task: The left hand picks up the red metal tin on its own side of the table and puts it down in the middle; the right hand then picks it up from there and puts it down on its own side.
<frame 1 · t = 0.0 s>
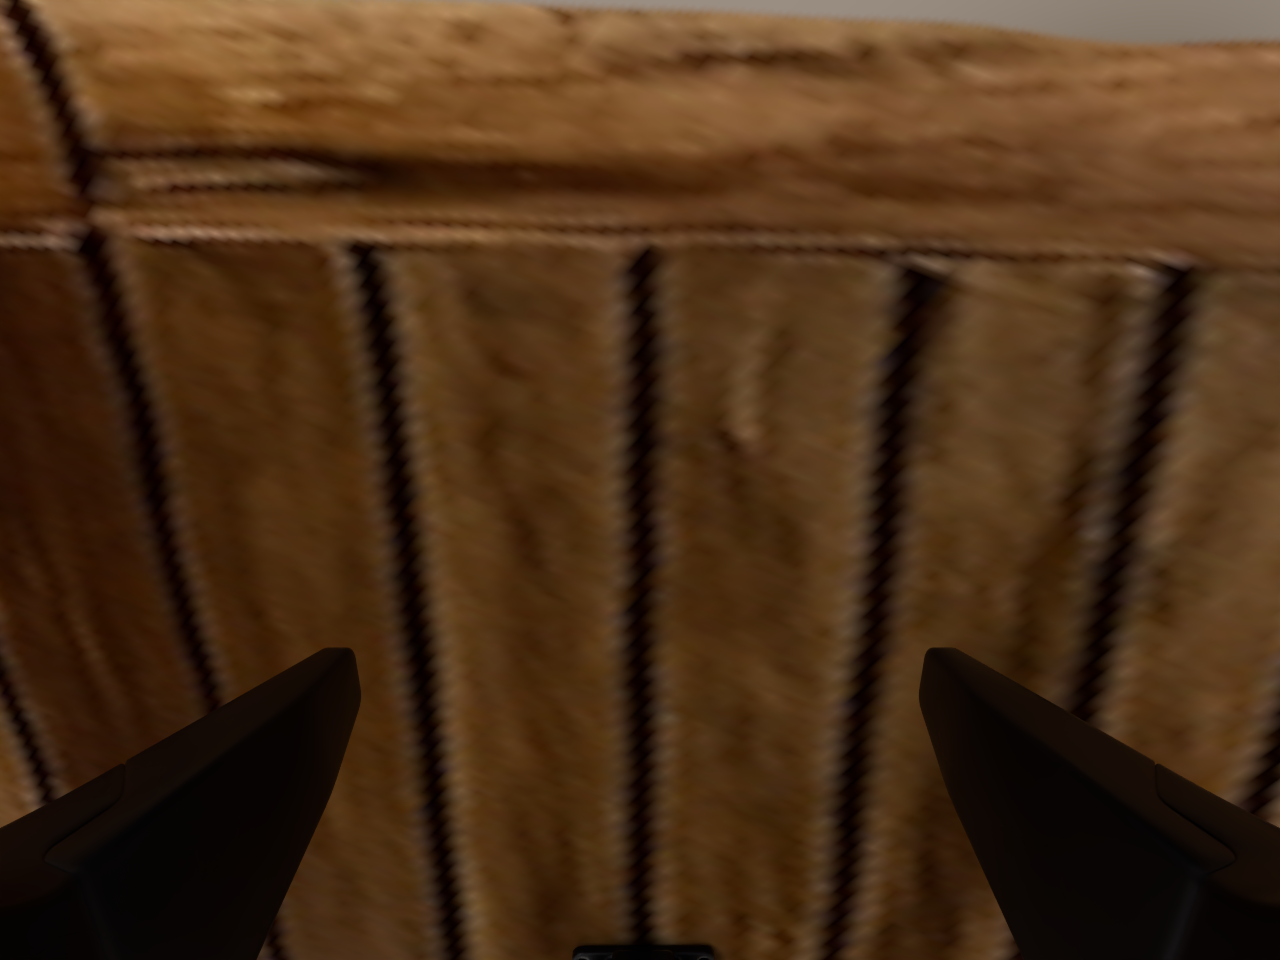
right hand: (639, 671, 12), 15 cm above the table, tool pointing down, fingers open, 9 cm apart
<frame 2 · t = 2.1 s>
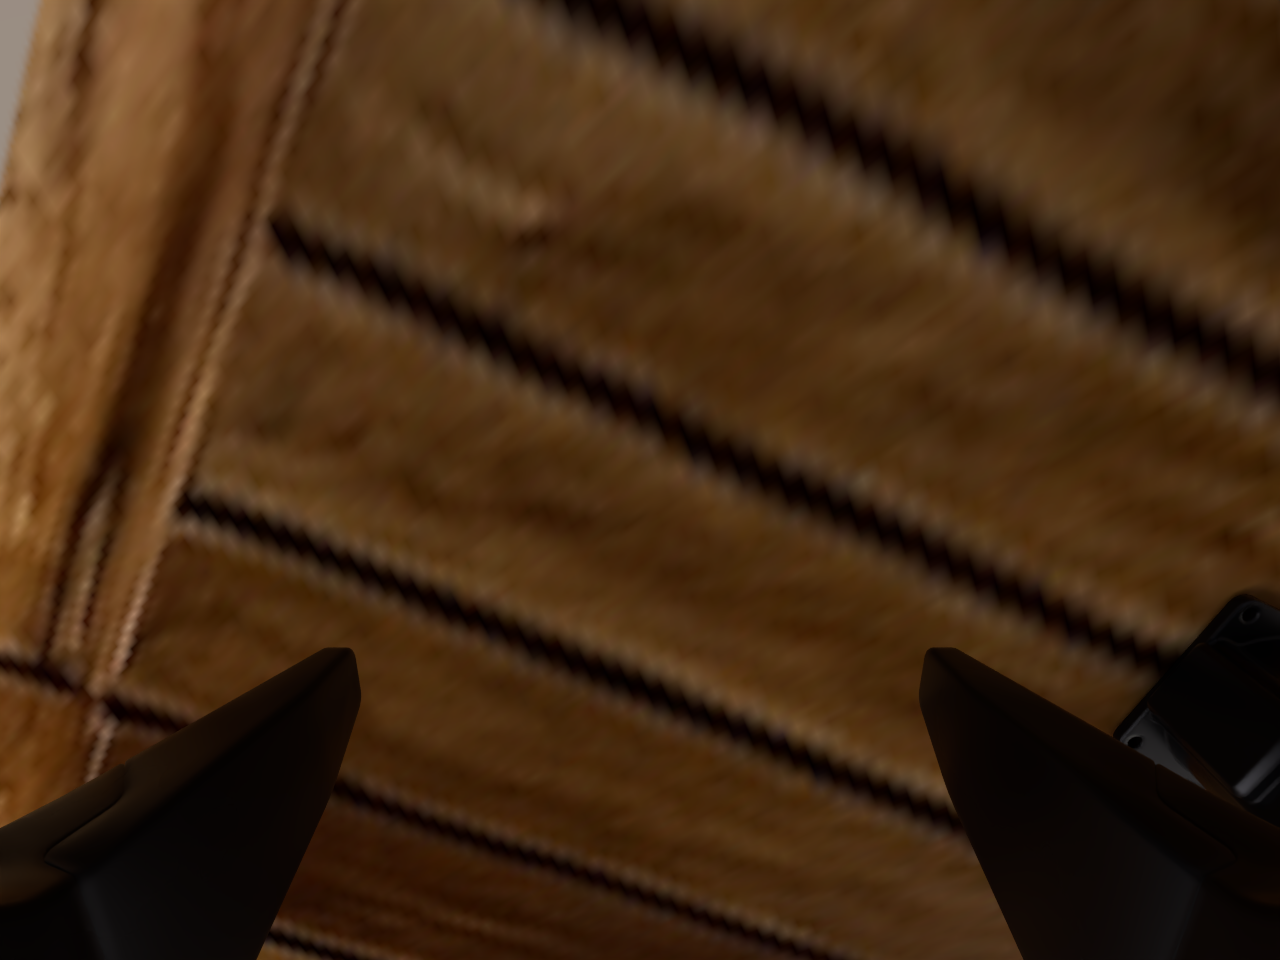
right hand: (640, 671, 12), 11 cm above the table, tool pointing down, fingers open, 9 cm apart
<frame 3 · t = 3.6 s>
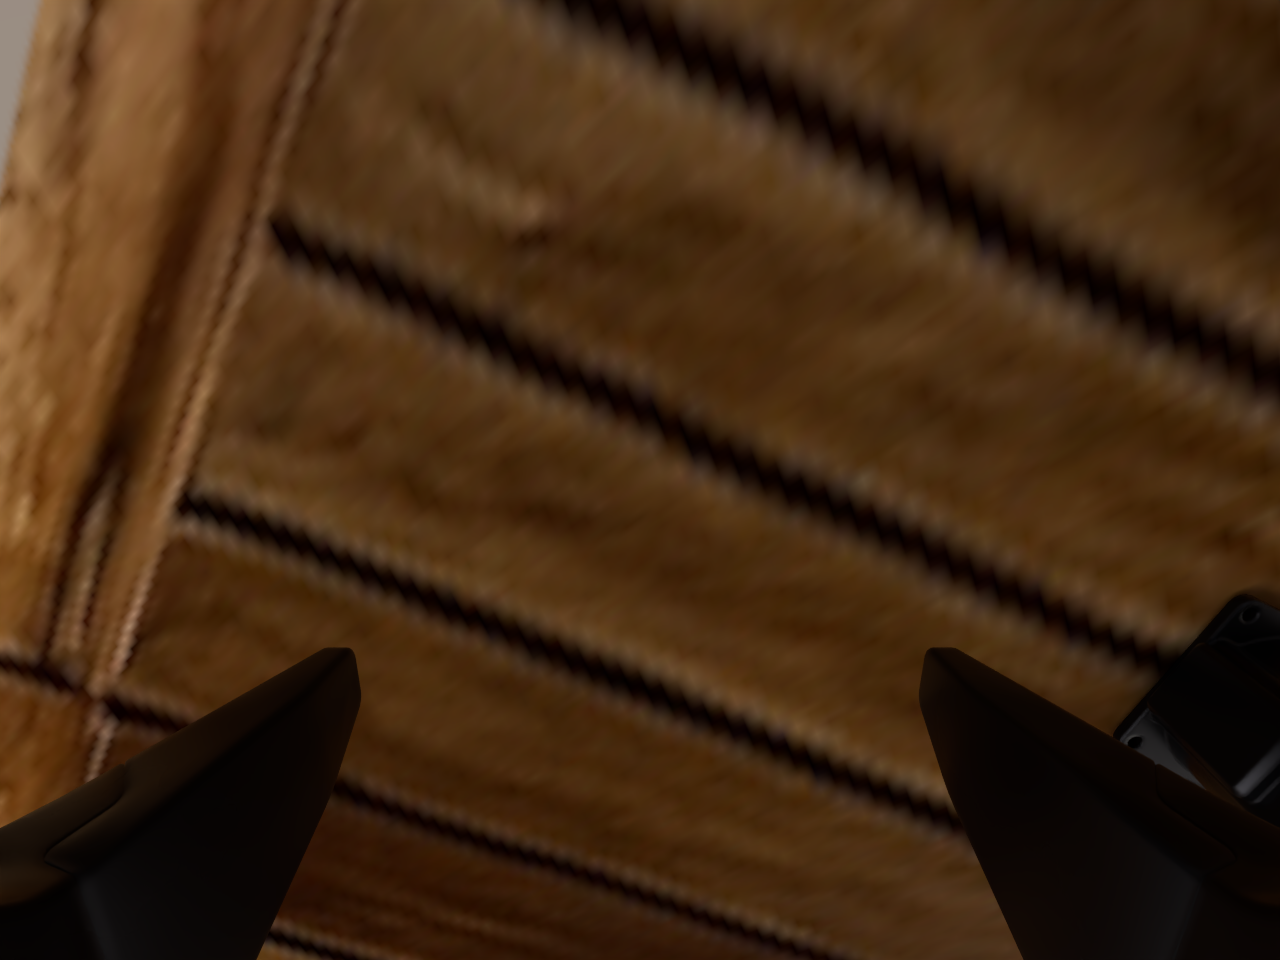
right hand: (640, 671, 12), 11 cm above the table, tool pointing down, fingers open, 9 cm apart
when the left hand's fingers open (2 cm above the table, at t = 5.3 s): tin stays where it is, on the table.
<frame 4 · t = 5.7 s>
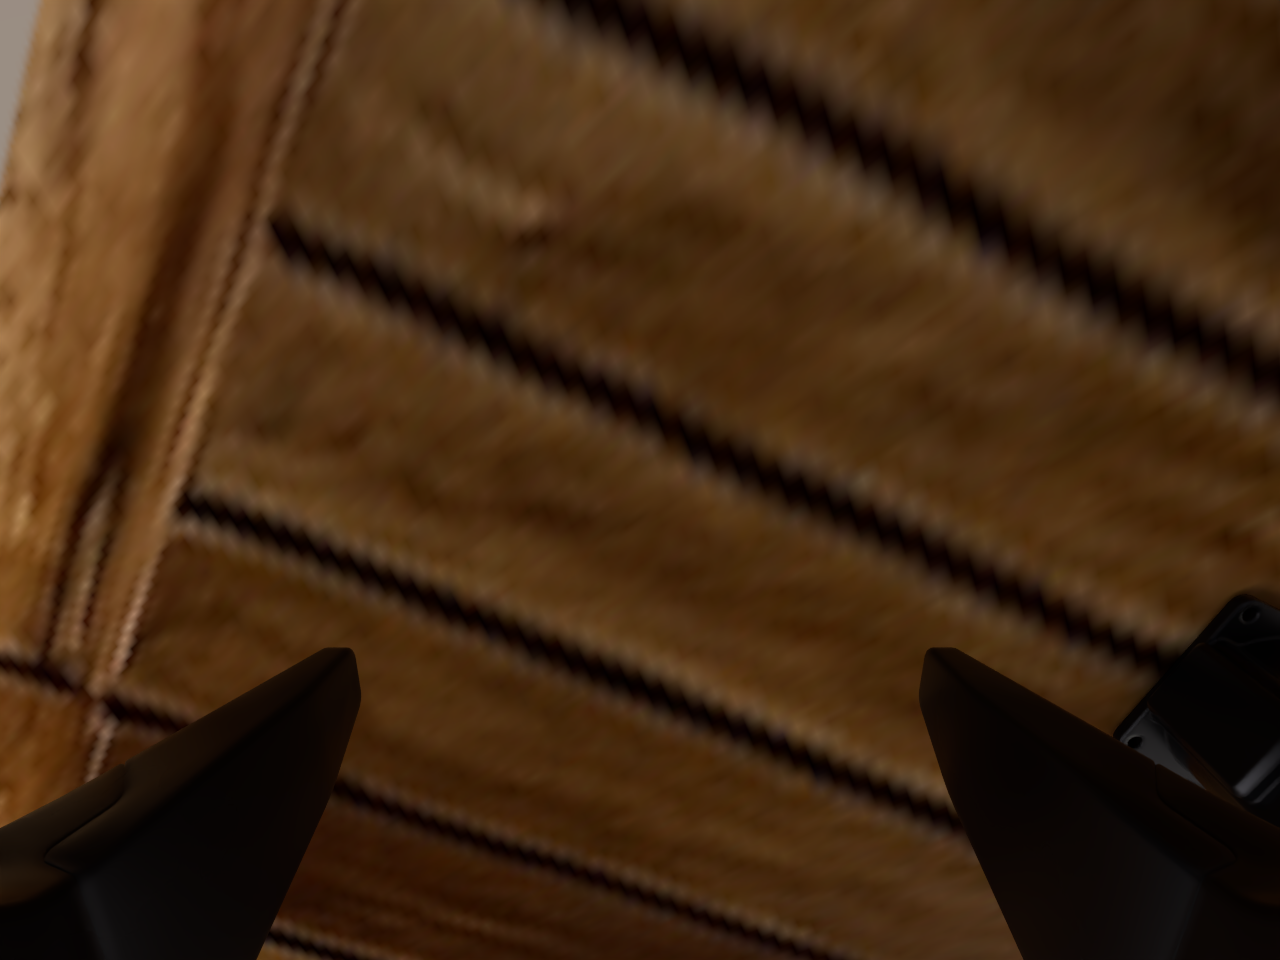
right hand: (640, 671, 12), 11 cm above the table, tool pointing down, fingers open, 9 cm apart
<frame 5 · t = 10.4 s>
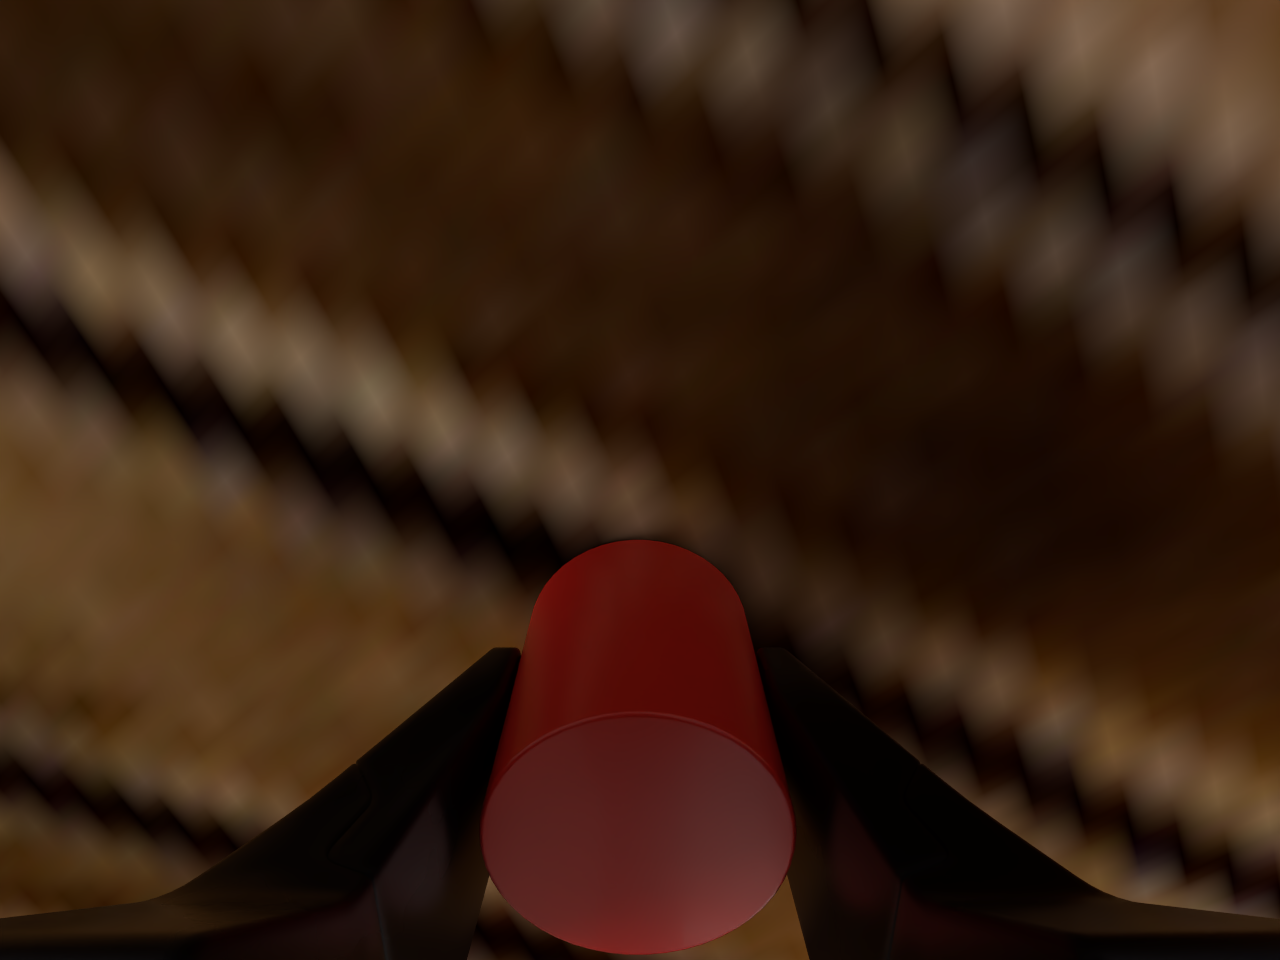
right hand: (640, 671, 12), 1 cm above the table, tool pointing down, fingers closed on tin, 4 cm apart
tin: (638, 636, 13), on the table, touching right hand
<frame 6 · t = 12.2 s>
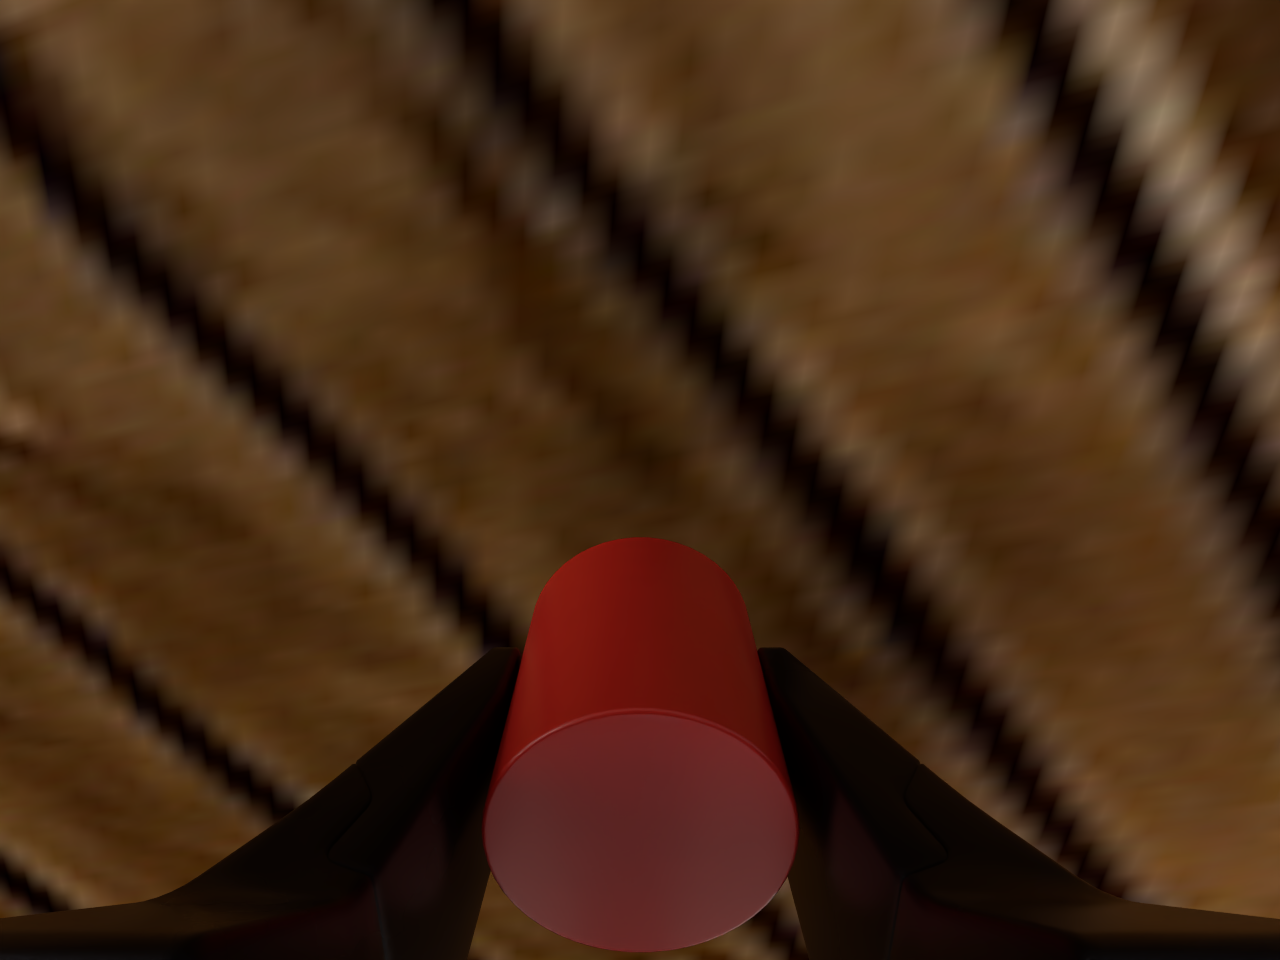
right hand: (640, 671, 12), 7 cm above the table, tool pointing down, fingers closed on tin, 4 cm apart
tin: (640, 634, 13), point 6 cm above the table, touching right hand
when the right hand's fingers open (2 cm above the table, at t = 14.5 s): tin stays where it is, on the table.
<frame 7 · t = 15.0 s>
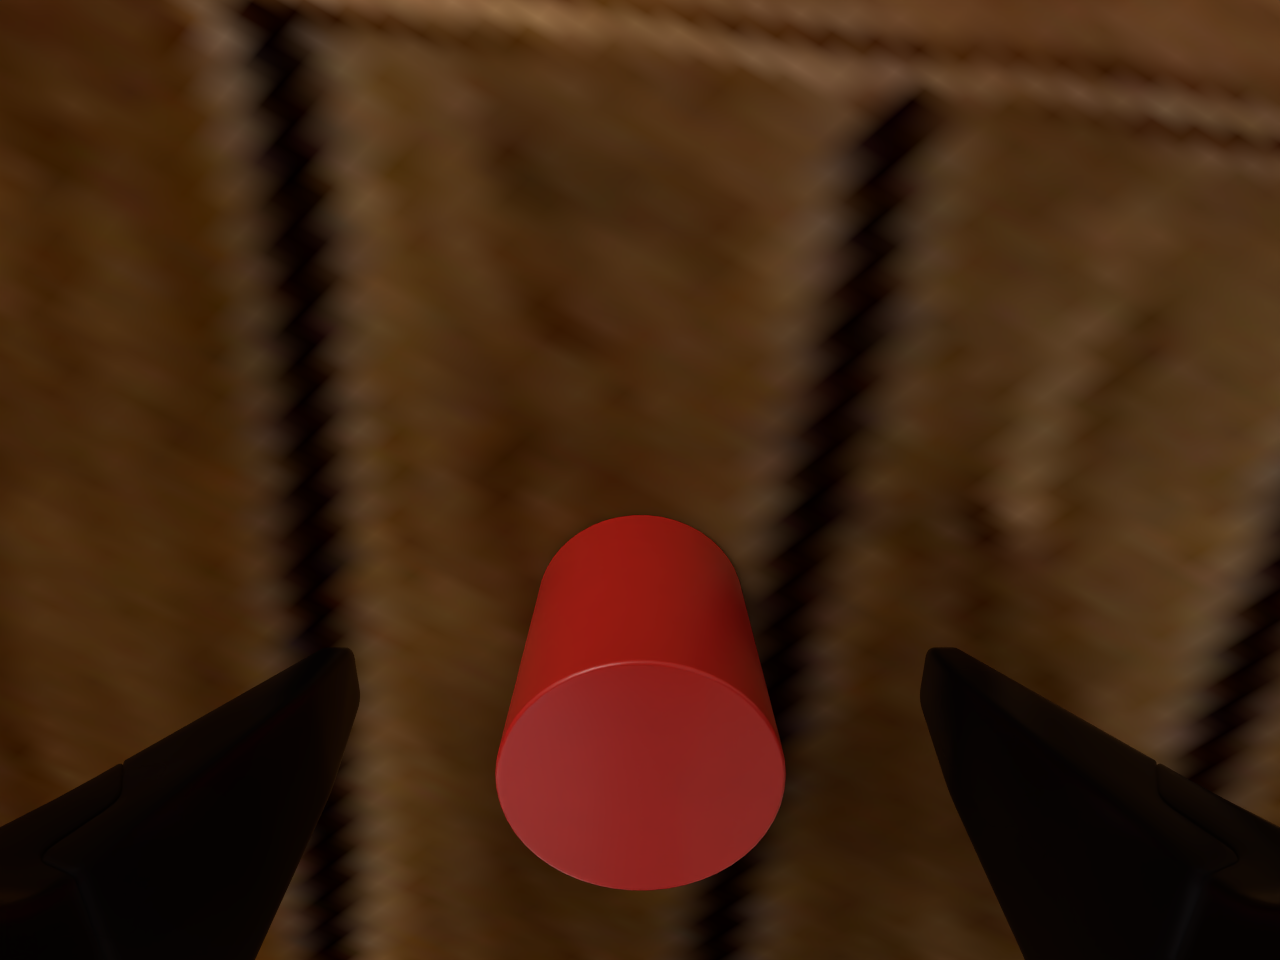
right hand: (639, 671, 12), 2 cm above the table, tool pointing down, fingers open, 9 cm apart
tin: (640, 607, 13), on the table
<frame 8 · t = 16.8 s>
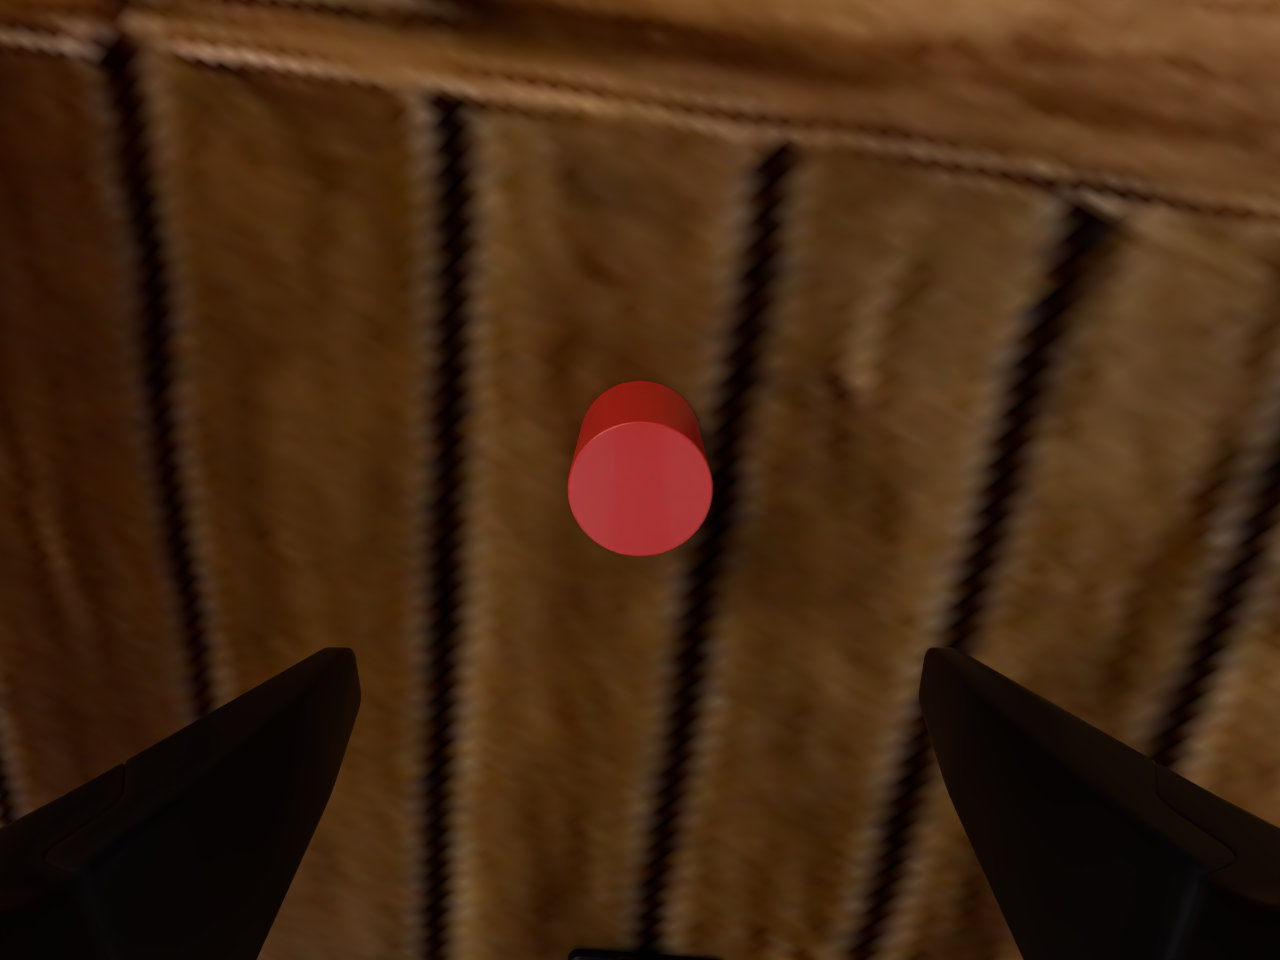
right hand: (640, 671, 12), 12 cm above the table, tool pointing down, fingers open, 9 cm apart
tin: (640, 439, 23), on the table
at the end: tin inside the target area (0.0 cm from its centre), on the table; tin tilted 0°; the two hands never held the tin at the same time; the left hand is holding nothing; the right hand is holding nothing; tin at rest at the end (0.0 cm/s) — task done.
